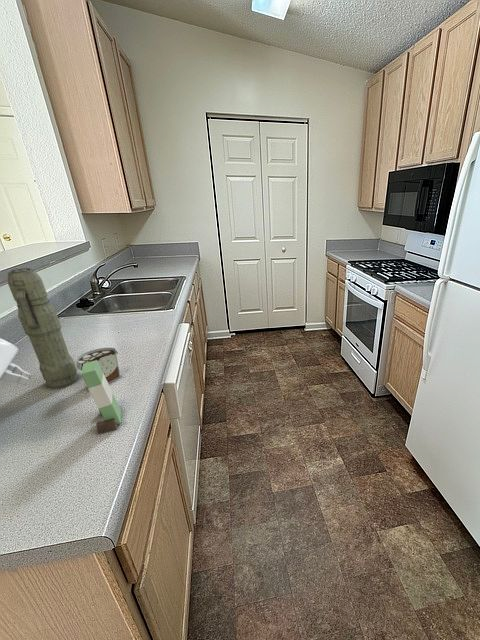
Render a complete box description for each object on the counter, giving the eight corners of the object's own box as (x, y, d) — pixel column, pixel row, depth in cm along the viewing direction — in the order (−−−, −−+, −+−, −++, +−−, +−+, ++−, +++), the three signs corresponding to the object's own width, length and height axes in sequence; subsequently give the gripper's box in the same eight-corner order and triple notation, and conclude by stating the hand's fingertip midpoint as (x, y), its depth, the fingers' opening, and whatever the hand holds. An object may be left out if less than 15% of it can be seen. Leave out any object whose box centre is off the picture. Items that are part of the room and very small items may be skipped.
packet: (80, 374, 76) (95, 370, 77) (83, 363, 81) (96, 359, 82) (108, 427, 84) (121, 422, 85) (109, 414, 89) (121, 410, 90)
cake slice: (111, 371, 111) (103, 344, 107) (124, 375, 109) (116, 347, 104) (75, 389, 101) (65, 359, 97) (88, 393, 99) (78, 363, 94)
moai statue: (42, 393, 99) (-8, 275, 84) (50, 376, 109) (7, 267, 93) (76, 386, 102) (34, 272, 87) (81, 370, 112) (44, 265, 97)
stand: (98, 434, 82) (95, 425, 81) (101, 412, 90) (98, 405, 89) (116, 429, 83) (114, 421, 82) (117, 408, 92) (115, 401, 90)
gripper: (-62, 357, 59) (26, 390, 67) (-22, 322, 75) (44, 352, 84) (-82, 384, 59) (8, 414, 67) (-39, 344, 76) (29, 372, 84)
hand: (28, 380), depth 76 cm, fingers closed
